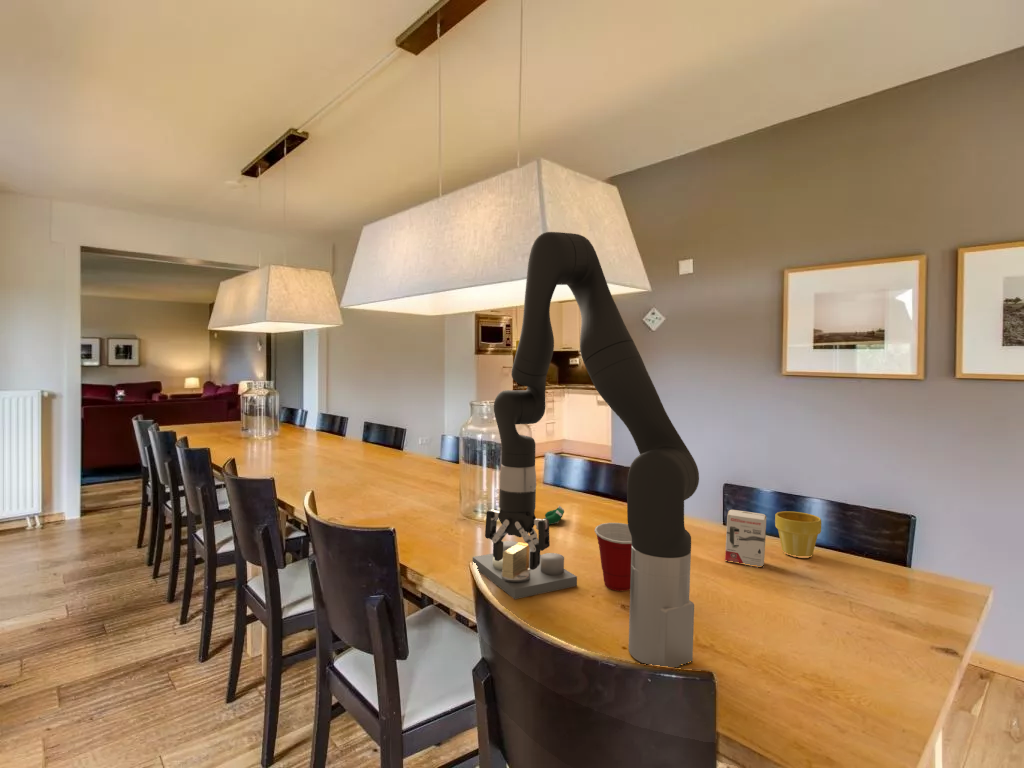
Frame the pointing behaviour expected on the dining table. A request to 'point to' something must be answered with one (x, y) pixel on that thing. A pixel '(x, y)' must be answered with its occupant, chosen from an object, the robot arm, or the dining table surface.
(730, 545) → the ink box
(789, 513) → the plant pot
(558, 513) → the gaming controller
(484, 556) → the base
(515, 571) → the wing knob
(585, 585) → the dining table surface
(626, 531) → the plastic cup
